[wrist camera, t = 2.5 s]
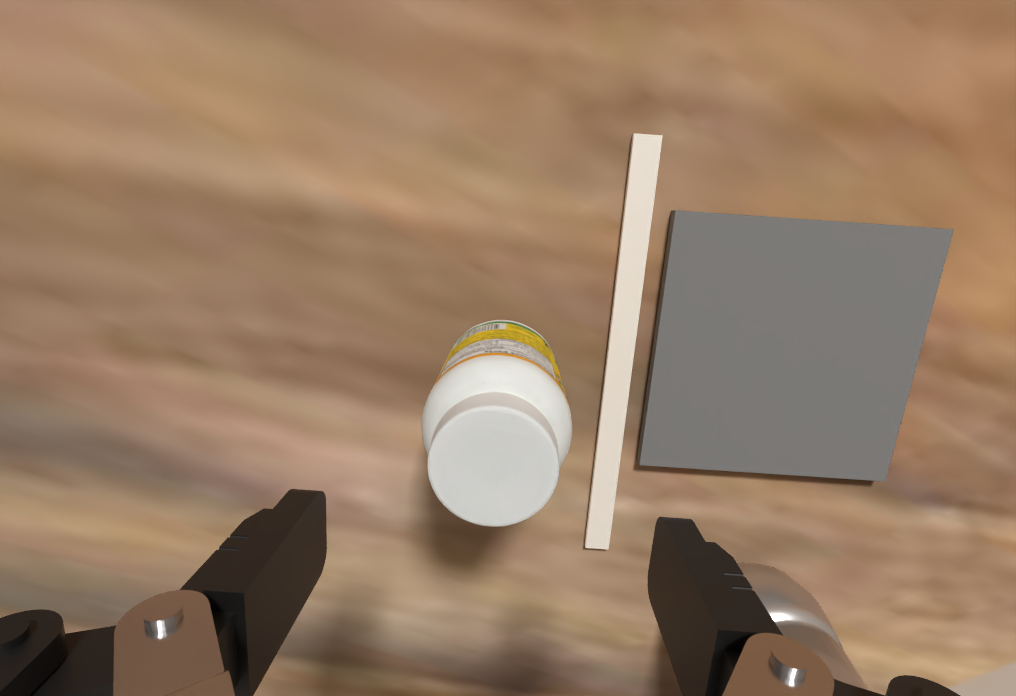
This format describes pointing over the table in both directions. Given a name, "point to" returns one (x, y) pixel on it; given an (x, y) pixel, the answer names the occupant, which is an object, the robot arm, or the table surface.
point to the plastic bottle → (801, 618)
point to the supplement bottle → (497, 425)
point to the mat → (787, 343)
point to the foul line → (622, 334)
